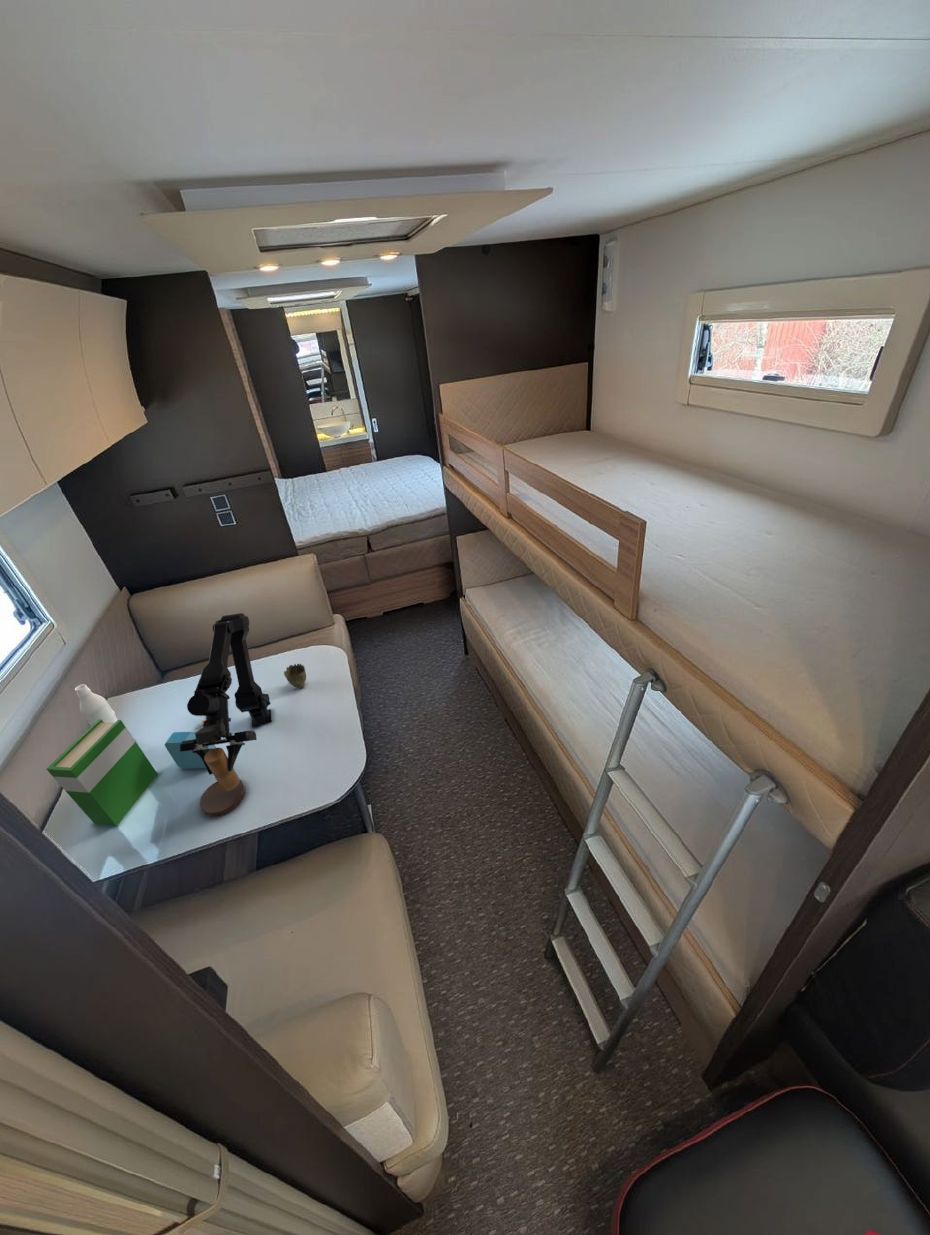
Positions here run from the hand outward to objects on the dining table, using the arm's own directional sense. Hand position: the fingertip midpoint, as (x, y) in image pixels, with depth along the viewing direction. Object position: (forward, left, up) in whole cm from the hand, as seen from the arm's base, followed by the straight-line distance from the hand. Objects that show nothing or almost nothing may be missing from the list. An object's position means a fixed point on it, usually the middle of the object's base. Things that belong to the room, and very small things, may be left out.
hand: (220, 772), depth 131 cm
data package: (-20, -11, -13) cm, 27 cm away
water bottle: (-43, -39, -13) cm, 60 cm away
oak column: (-1, 0, -7) cm, 7 cm away
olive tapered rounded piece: (-44, +22, -13) cm, 51 cm away
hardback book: (-15, -31, -13) cm, 37 cm away
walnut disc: (-2, -3, -12) cm, 13 cm away
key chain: (-42, -9, -12) cm, 45 cm away
